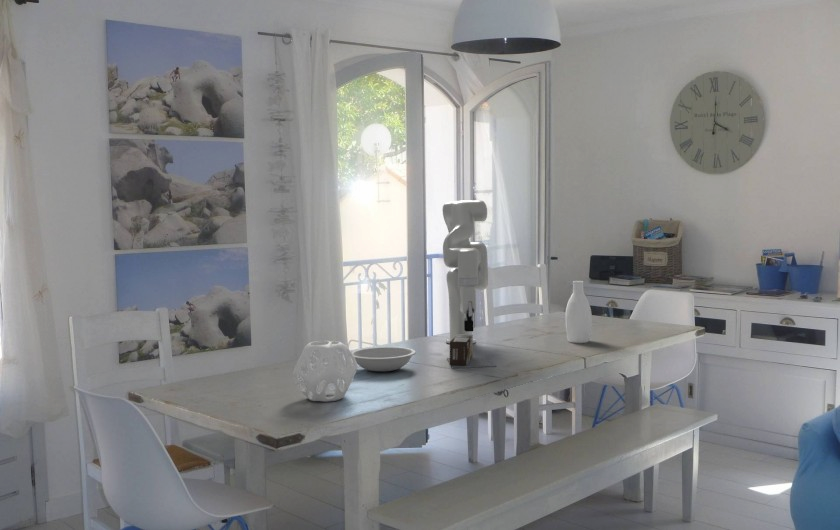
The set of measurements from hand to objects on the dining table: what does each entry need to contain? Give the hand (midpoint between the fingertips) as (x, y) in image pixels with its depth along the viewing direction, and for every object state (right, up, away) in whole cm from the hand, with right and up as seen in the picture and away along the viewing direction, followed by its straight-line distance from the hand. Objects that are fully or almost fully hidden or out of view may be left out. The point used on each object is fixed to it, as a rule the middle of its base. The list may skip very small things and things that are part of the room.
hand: (468, 330), depth 321 cm
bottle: (+48, -8, +39) cm, 63 cm away
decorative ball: (-48, -17, -56) cm, 75 cm away
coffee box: (-1, -6, +5) cm, 8 cm away
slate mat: (+1, -12, -3) cm, 12 cm away
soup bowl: (-32, -13, -14) cm, 37 cm away
